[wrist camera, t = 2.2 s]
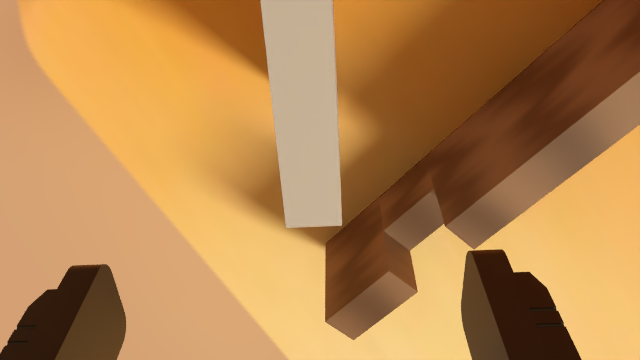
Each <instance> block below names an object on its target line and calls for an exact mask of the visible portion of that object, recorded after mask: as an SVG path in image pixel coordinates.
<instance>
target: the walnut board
mask: <svg viewBox="0 0 640 360" xmlns="http://www.w3.org/2000/svg"><path fill="white" fill-rule="evenodd" d="M638 125H640V0H604V1H602V2H601V3H600V4H599V5H598V6H597V7H596V8H594V9H593V10H592V11H591V12H590V13H589V14H588V15H586V16H585V17H584V18H583V19H582V20H581V21H580V22H578V23H577V24H576V25H575V26H574V27H573V28H572V29H571V30H569V31H568V32H567V33H566V34H565V35H564V36H563V37H561V38H560V39H559V40H558V41H557V42H556V43H555V44H553V45H552V46H551V47H550V48H549V49H548V50H547V51H545V52H544V53H543V54H542V55H541V56H540V57H539V58H537V59H536V60H535V61H534V62H533V63H532V64H531V65H529V66H528V67H527V68H526V69H525V70H524V71H523V72H521V73H520V74H519V75H518V76H517V77H516V78H515V79H513V80H512V81H511V82H510V83H509V84H508V85H507V86H505V87H504V88H503V89H502V90H501V91H500V92H499V93H497V94H496V95H495V96H494V97H493V98H492V99H491V100H489V101H488V102H487V103H486V104H485V105H484V106H483V107H482V108H480V109H479V110H478V111H477V112H476V113H475V114H474V115H472V116H471V117H470V118H469V119H468V120H467V121H466V122H464V123H463V124H462V125H461V126H460V127H459V128H458V129H456V130H455V131H454V132H453V133H452V134H451V135H450V136H448V137H447V138H446V139H445V140H444V141H443V142H442V143H440V144H439V145H438V146H437V147H436V148H435V149H434V150H432V151H431V152H430V153H429V154H428V155H427V156H426V157H424V158H423V159H422V160H421V161H420V162H419V163H418V164H416V165H415V166H414V167H413V168H412V169H411V170H410V171H408V172H407V173H406V174H405V175H404V176H403V177H402V178H401V179H399V180H398V181H397V182H396V183H395V184H394V185H393V186H391V187H390V188H389V189H388V190H387V191H386V192H385V193H383V194H382V195H381V196H380V197H379V198H378V199H377V200H375V201H374V202H373V203H372V204H371V205H370V206H369V207H367V208H366V209H365V210H364V211H363V212H362V213H361V214H359V215H358V216H357V217H356V218H355V219H354V220H353V221H351V222H350V223H349V224H348V225H347V226H346V227H345V228H343V229H342V230H341V231H340V232H339V233H338V234H337V235H335V236H334V237H333V238H332V239H331V240H330V241H329V242H327V243H326V277H325V322H326V323H328V324H329V325H331V326H332V327H334V328H336V329H337V330H339V331H340V332H342V333H343V334H345V335H346V336H348V337H349V338H351V339H353V340H355V339H356V338H357V337H359V336H360V335H361V334H363V333H364V332H365V331H367V330H368V329H369V328H370V327H372V326H373V325H374V324H376V323H377V322H378V321H380V320H381V319H382V318H384V317H385V316H386V315H388V314H389V313H390V312H392V311H393V310H394V309H396V308H397V307H398V306H400V305H401V304H402V303H404V302H405V301H406V300H408V299H409V298H410V297H412V296H413V295H414V294H416V293H417V292H418V291H417V286H416V280H415V275H414V270H413V265H412V259H411V254H410V250H411V249H413V248H414V247H415V246H416V245H418V244H419V243H420V242H421V241H423V240H424V239H425V238H427V237H428V236H429V235H430V234H432V233H433V232H434V231H435V230H437V229H438V228H439V227H440V226H442V225H443V224H445V227H447V228H448V229H449V230H450V231H452V232H453V233H454V234H455V235H457V236H458V237H459V238H460V239H462V240H463V241H464V242H465V243H467V244H468V245H469V246H470V247H472V248H473V249H475V248H477V247H478V246H479V245H481V244H482V243H483V242H485V241H486V240H487V239H489V238H490V237H491V236H493V235H494V234H495V233H496V232H498V231H499V230H500V229H502V228H503V227H504V226H506V225H507V224H508V223H510V222H511V221H512V220H514V219H515V218H516V217H518V216H519V215H520V214H522V213H523V212H524V211H526V210H527V209H528V208H530V207H531V206H532V205H534V204H535V203H536V202H538V201H539V200H540V199H542V198H543V197H544V196H546V195H547V194H548V193H550V192H551V191H552V190H554V189H555V188H556V187H558V186H559V185H560V184H561V183H563V182H564V181H565V180H567V179H568V178H569V177H571V176H572V175H573V174H575V173H576V172H577V171H579V170H580V169H581V168H583V167H584V166H585V165H587V164H588V163H589V162H591V161H592V160H593V159H595V158H596V157H597V156H599V155H600V154H601V153H603V152H604V151H605V150H607V149H608V148H609V147H611V146H612V145H613V144H615V143H616V142H617V141H619V140H620V139H621V138H623V137H624V136H625V135H626V134H628V133H629V132H630V131H632V130H633V129H634V128H636V127H637V126H638Z"/></svg>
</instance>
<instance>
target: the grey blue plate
mask: <svg viewBox="0 0 640 360" xmlns="http://www.w3.org/2000/svg"><path fill="white" fill-rule="evenodd" d="M260 2H261V11H262V20H263V28H264V37H265V46H266V55H267V64H268V73H269V82H270V91H271V100H272V108H273V117H274V126H275V135H276V144H277V153H278V162H279V171H280V180H281V188H282V197H283V206H284V215H285V224H286V228H297V227H322V226H342V206H341V178H340V150H339V122H338V94H337V73H336V51H335V30H334V8H333V0H260Z"/></svg>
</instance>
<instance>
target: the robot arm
mask: <svg viewBox="0 0 640 360" xmlns="http://www.w3.org/2000/svg"><path fill="white" fill-rule="evenodd" d="M461 314H462V322H463V328H464V332H465V335H466V339H467V343H468V346H469V350H470V353H471V357H472V360H581V358H580V355H579V353H578V351H577V349H576V347H575V345H574V343H573V341H572V339H571V337H570V335H569V333H568V331H567V329H566V327H564V322H563V320H562V318H561V316H560V314H559V312H558V311H556V306H555V304H554V302H553V300H552V298H551V295H550V293H549V291H548V289H547V288H546V287H545V286H544V285H543V284H542V283H541V282H540V281H539V280H538V279H536V278H535V277H534V276H533V275H532V274H531V273H530V272H515V273H514V272H513V270H512V268H511V265H510V263H509V261H508V258H507V256H506V254H505V252H504V251H503V250H476V251H468V252H467V255H466V262H465V272H464V281H463V290H462V300H461ZM125 332H126V317H125V312H124V309H123V306H122V303H121V300H120V296H119V294H118V290H117V287H116V284H115V281H114V278H113V275H112V272H111V269H110V267H109V266H108V265H106V264H102V265H77V266H72V267H70V268H69V269H68V271H67V272H66V274H65V276H64V278H63V279H62V281H61V283H60V285H59V287H58V289H53V290H47V291H45V292H44V293H43V294H42V295H41V296H40V297H39V298H38V299H36V300H35V301H34V302H33V303H32V304H31V305H30V306H29V307H28V308H27V310H26V312H25V313H24V315H23V317H22V318H21V320H20V321H19V323H18V325H17V330H14V332H13V333H12V335H11V337H10V338H9V340H8V345H7V346H5V347H4V348H3V350H2V352H1V353H0V360H117V357H118V355H119V352H120V349H121V347H122V344H123V341H124V338H125Z"/></svg>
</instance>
